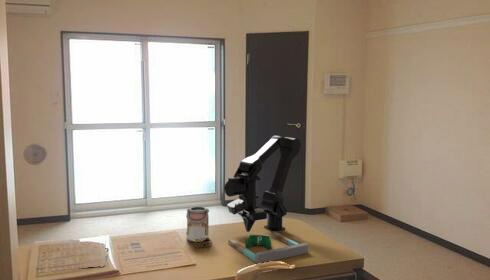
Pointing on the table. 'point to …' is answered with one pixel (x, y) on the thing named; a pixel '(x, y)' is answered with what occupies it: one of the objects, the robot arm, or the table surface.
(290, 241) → the teal band
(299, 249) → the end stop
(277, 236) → the rails
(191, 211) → the pink white can
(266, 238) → the gaming controller
